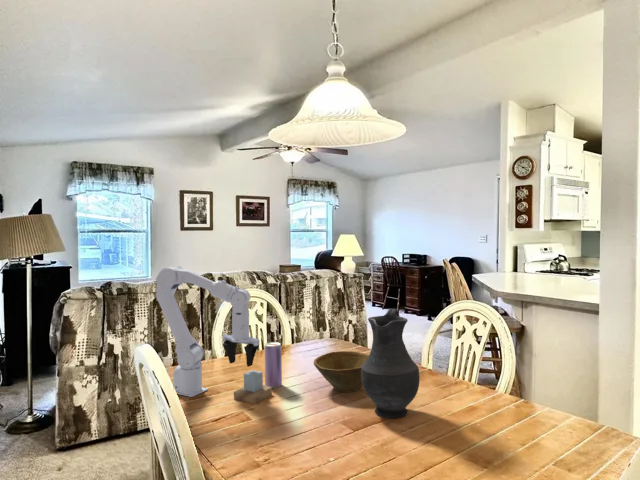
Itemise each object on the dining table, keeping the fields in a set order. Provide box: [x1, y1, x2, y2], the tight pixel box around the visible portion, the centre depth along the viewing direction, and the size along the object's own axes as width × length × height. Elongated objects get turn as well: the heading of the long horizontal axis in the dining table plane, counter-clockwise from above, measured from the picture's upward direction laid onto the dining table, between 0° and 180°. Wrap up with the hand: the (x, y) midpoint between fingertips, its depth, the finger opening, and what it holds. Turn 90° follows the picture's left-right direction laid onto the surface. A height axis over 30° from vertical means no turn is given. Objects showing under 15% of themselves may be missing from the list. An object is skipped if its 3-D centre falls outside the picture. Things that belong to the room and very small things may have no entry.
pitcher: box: [361, 308, 420, 419], centre depth 133 cm, size 17×21×30 cm
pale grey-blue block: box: [243, 369, 264, 392], centre depth 146 cm, size 4×4×6 cm
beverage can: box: [264, 341, 283, 389], centre depth 157 cm, size 6×6×15 cm
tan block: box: [233, 385, 273, 404], centre depth 146 cm, size 9×9×3 cm
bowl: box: [313, 350, 370, 393], centre depth 154 cm, size 22×23×10 cm
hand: (240, 364), depth 150 cm, fingers open, 7 cm apart
